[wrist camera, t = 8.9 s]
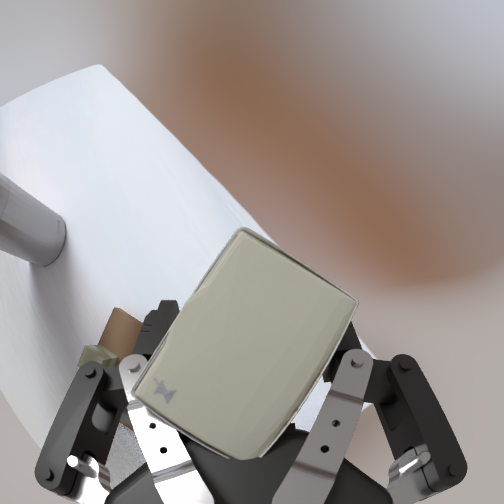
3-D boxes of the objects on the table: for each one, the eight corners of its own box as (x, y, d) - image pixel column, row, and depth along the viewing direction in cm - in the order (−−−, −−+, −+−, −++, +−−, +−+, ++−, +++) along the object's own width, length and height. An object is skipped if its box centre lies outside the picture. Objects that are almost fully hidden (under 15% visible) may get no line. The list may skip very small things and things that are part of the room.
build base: (85, 390, 30) (63, 396, 24) (119, 308, 33) (98, 304, 28) (229, 473, 27) (225, 494, 22) (277, 392, 30) (281, 404, 25)
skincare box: (250, 391, 18) (246, 480, 6) (198, 359, 18) (120, 400, 6) (299, 316, 19) (369, 298, 7) (247, 284, 20) (238, 219, 8)
